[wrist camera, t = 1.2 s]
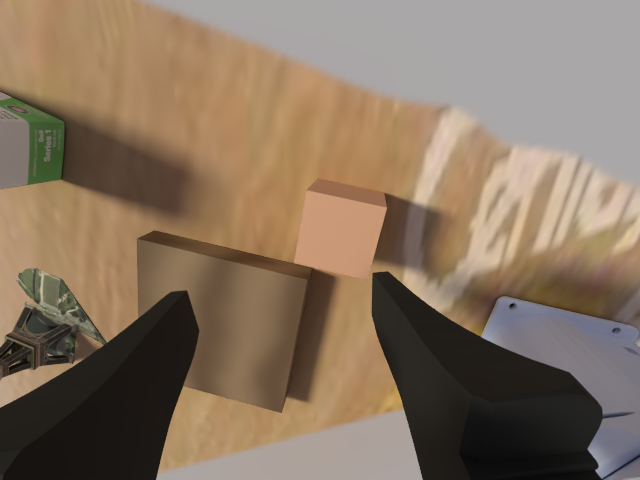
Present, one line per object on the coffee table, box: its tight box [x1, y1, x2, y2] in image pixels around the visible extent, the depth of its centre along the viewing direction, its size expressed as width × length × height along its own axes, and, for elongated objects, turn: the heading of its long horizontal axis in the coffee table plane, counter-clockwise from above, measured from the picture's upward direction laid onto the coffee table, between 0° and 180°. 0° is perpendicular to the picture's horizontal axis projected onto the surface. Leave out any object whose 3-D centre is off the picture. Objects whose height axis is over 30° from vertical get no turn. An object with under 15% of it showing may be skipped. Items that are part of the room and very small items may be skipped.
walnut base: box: [137, 231, 312, 413], centre depth 26 cm, size 13×13×2 cm
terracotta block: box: [294, 179, 387, 280], centre depth 21 cm, size 5×5×4 cm
